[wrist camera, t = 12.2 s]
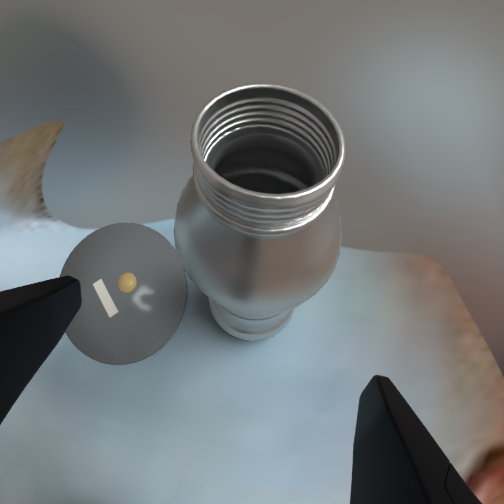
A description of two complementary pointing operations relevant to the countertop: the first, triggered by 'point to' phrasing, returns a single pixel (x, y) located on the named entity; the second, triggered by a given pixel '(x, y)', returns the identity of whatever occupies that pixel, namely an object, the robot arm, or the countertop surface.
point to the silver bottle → (261, 205)
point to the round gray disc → (125, 293)
